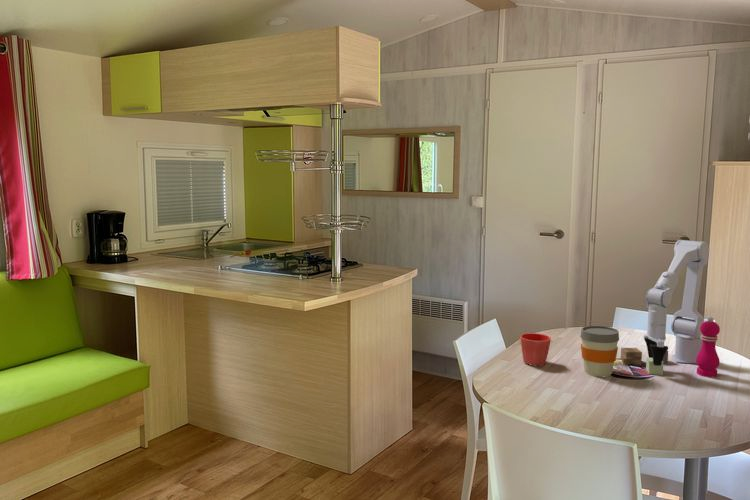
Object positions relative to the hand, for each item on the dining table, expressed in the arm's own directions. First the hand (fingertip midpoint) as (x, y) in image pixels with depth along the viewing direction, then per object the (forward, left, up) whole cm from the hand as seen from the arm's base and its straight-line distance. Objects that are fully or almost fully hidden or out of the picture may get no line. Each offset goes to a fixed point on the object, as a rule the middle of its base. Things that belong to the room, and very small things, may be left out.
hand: (654, 361), depth 219 cm
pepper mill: (-17, -1, -4) cm, 18 cm away
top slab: (+6, -10, -2) cm, 12 cm away
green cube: (0, 0, -4) cm, 4 cm away
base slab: (+6, -10, -4) cm, 12 cm away
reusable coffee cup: (+19, +4, -4) cm, 20 cm away
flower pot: (+40, -3, -4) cm, 40 cm away
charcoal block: (-4, -13, -4) cm, 14 cm away
